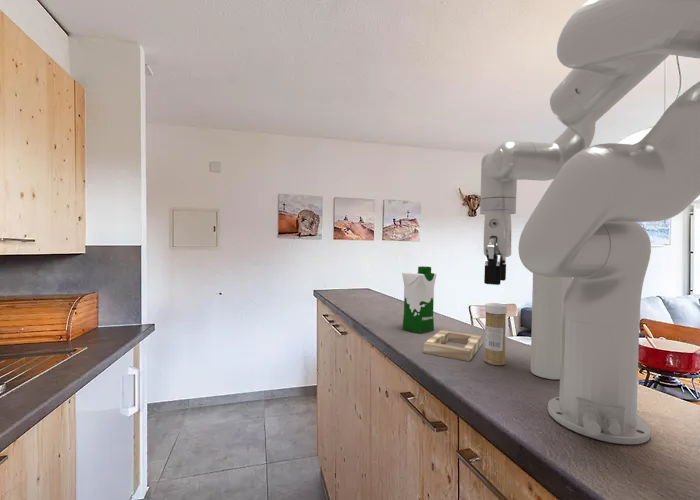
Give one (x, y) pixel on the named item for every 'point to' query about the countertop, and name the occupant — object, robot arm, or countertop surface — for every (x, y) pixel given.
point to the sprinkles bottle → (495, 333)
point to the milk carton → (419, 300)
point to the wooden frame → (462, 353)
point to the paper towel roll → (547, 324)
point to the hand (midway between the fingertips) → (495, 282)
